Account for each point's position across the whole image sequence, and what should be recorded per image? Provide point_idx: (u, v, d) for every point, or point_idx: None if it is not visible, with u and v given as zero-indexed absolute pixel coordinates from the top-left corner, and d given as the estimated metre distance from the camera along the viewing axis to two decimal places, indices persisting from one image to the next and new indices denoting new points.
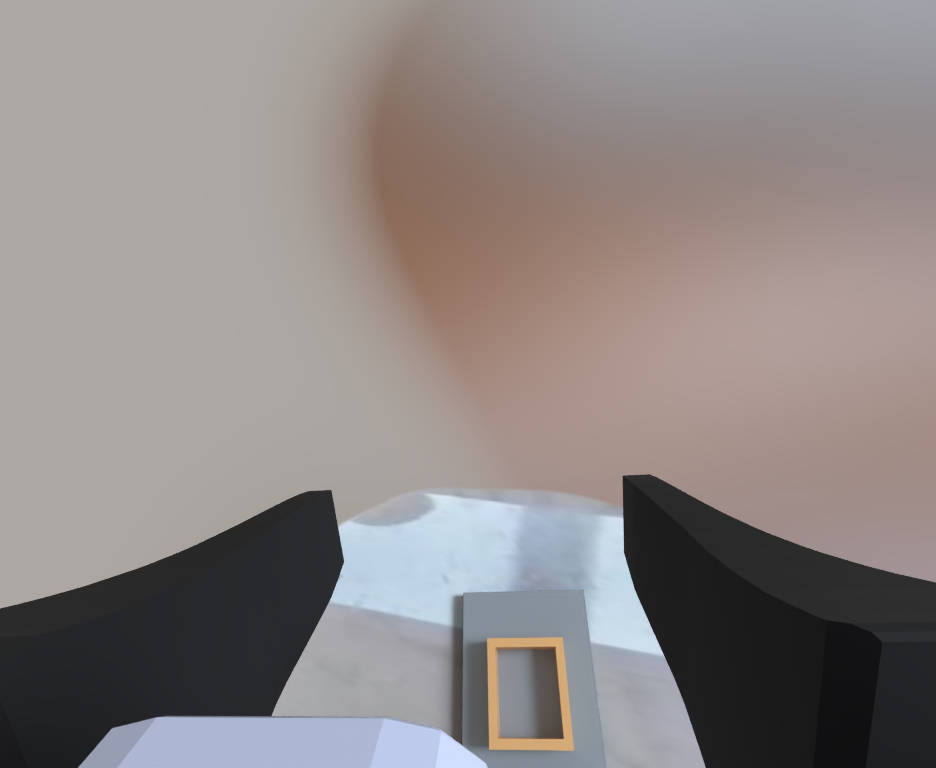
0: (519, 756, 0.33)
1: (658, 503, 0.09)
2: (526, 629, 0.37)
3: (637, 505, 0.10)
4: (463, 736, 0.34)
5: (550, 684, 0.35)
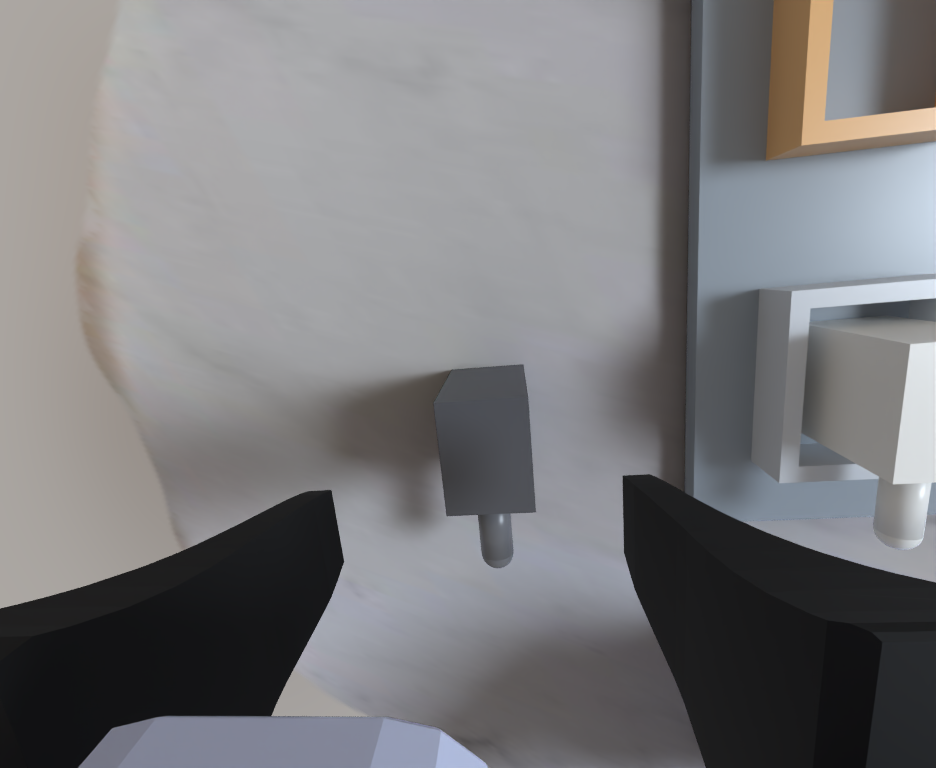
0: (825, 168, 0.16)
1: (658, 503, 0.09)
2: None
3: (637, 505, 0.10)
4: (703, 148, 0.16)
5: (926, 11, 0.15)
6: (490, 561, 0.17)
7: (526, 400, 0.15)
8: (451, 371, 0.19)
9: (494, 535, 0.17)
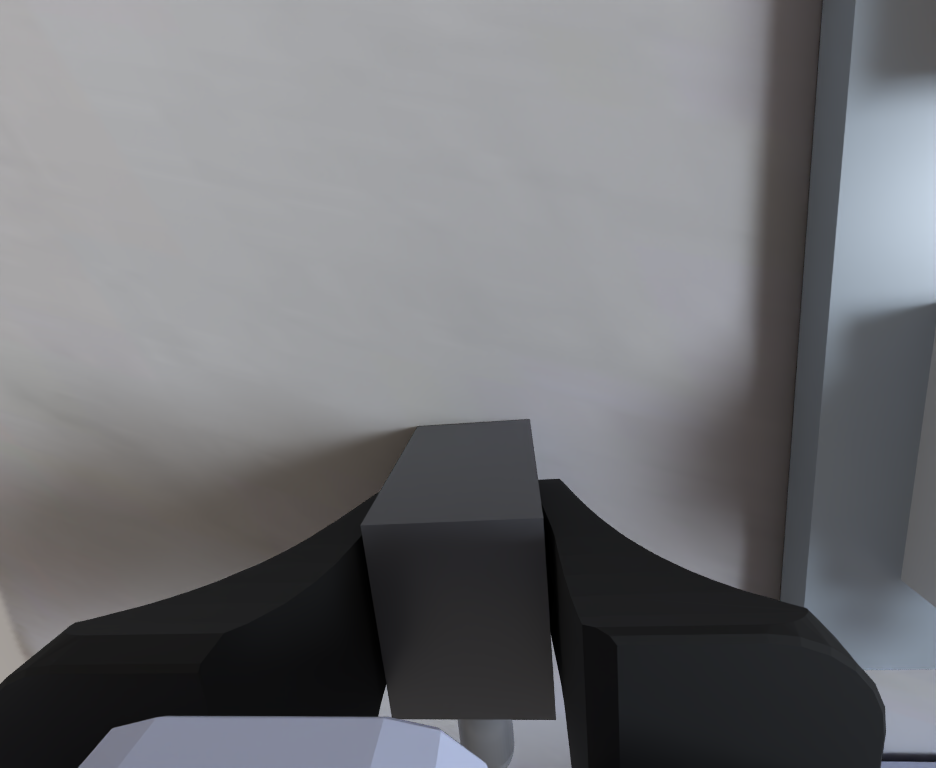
0: None
1: (546, 508, 0.09)
2: None
3: None
4: (856, 50, 0.09)
5: None
6: None
7: (540, 524, 0.07)
8: (415, 430, 0.12)
9: (481, 730, 0.10)
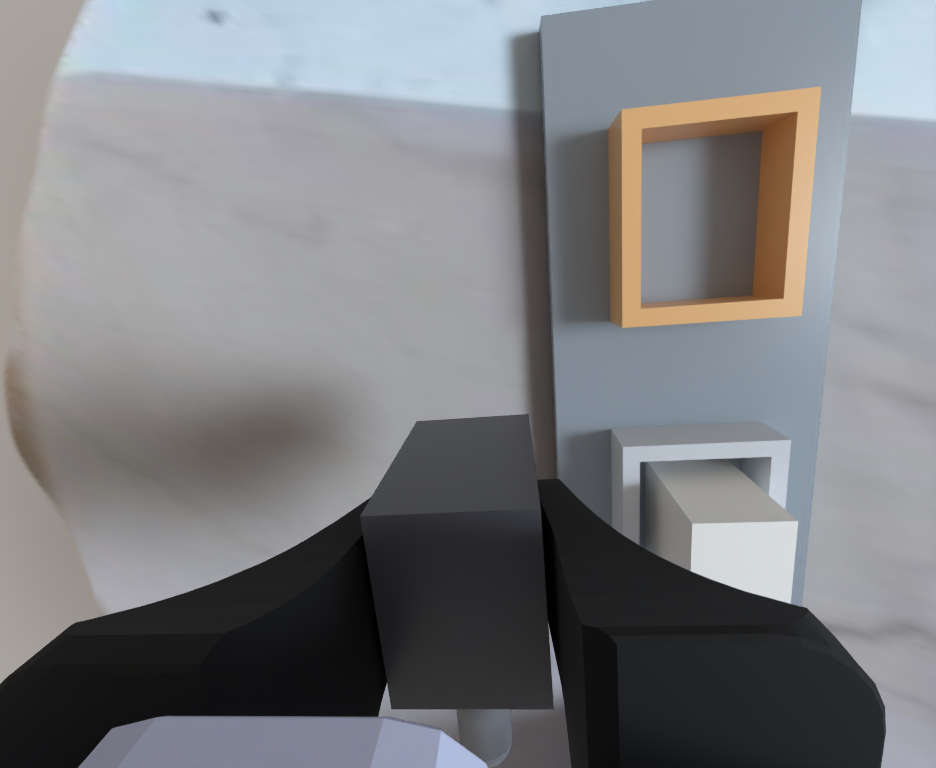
0: (662, 330, 0.18)
1: (546, 508, 0.09)
2: (698, 92, 0.16)
3: None
4: (554, 309, 0.18)
5: (740, 204, 0.16)
6: None
7: (537, 515, 0.08)
8: (415, 425, 0.12)
9: (480, 721, 0.10)
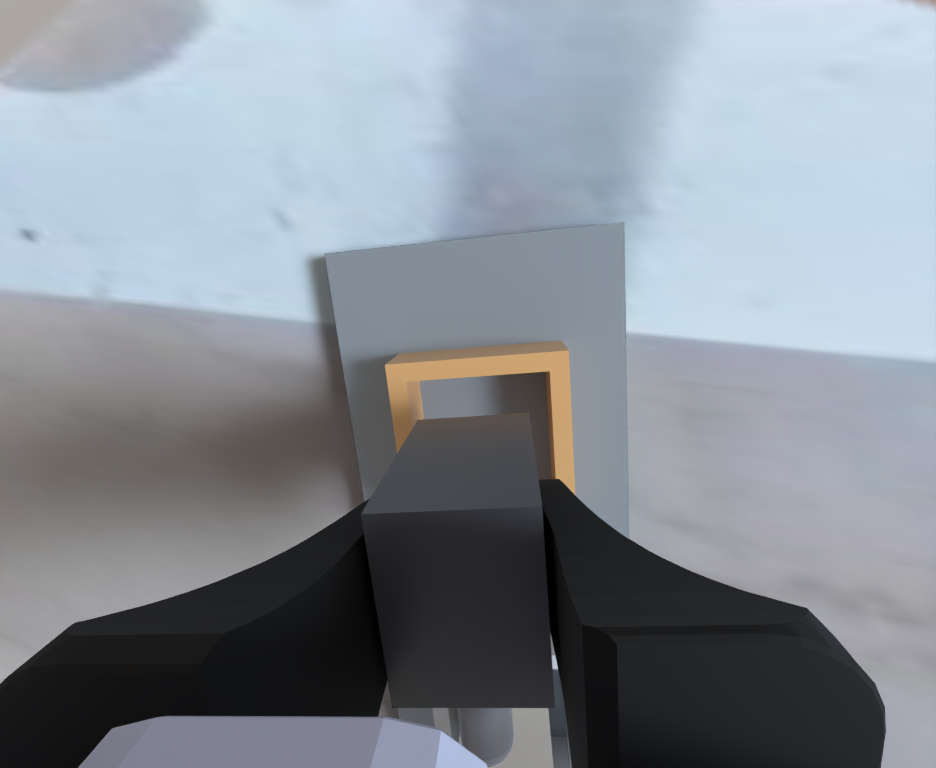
0: None
1: (546, 508, 0.09)
2: (480, 323, 0.16)
3: None
4: None
5: (532, 423, 0.17)
6: None
7: (539, 512, 0.08)
8: (415, 424, 0.12)
9: (481, 720, 0.10)
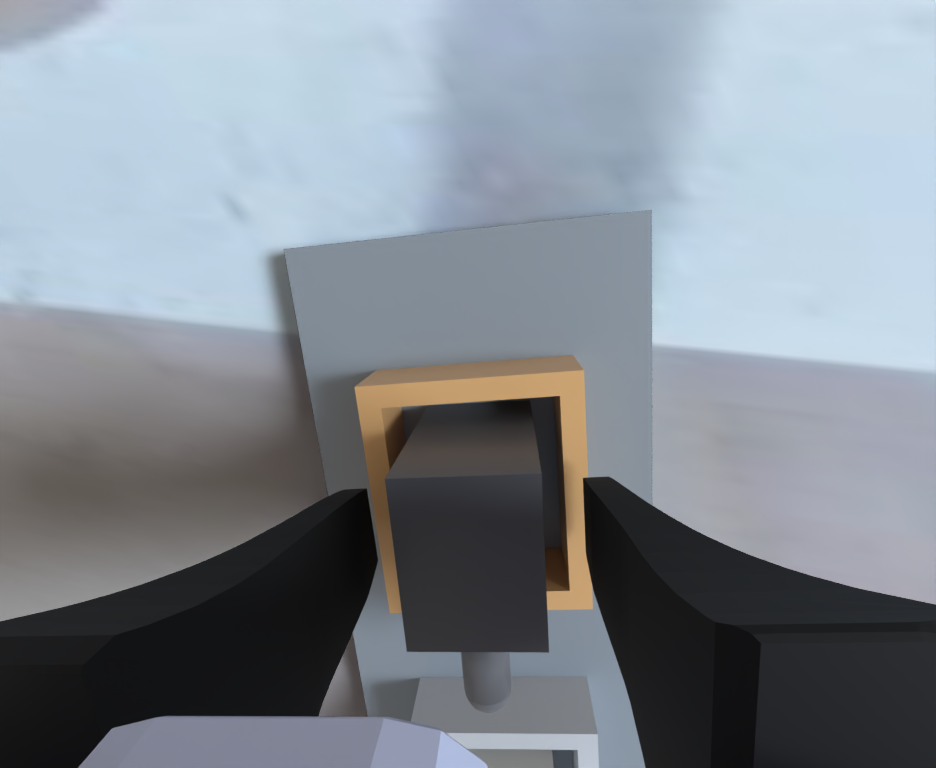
0: None
1: (608, 505, 0.09)
2: (474, 334, 0.13)
3: (592, 507, 0.10)
4: None
5: None
6: (476, 705, 0.11)
7: (538, 479, 0.09)
8: (427, 408, 0.13)
9: (483, 669, 0.11)
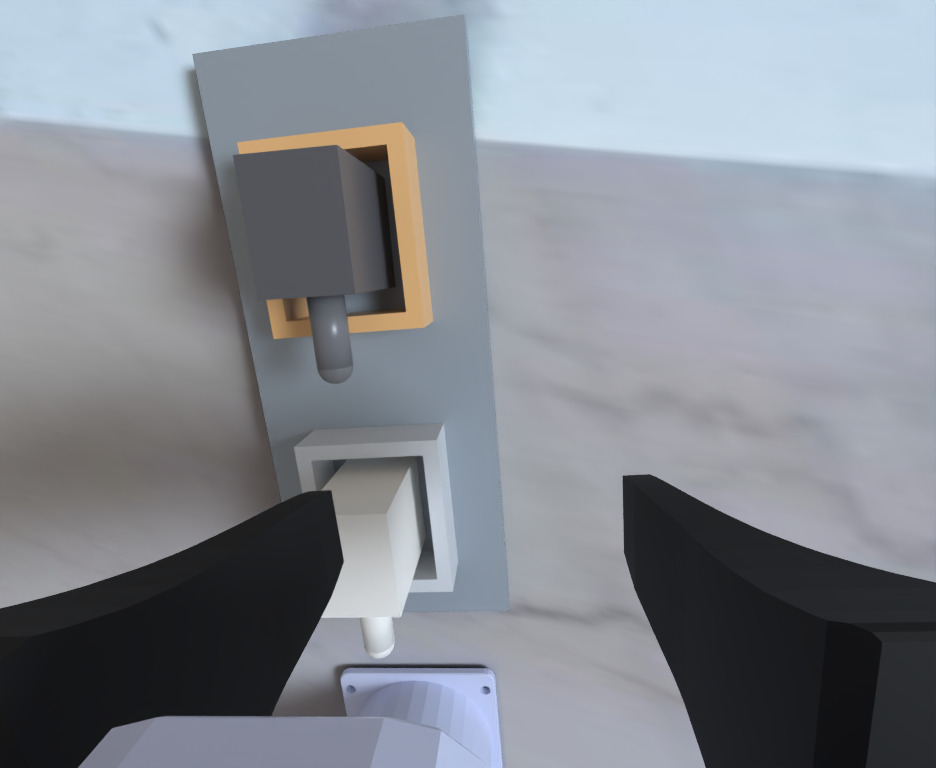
0: None
1: (658, 503, 0.09)
2: (339, 122, 0.17)
3: (638, 505, 0.10)
4: (247, 320, 0.19)
5: (392, 224, 0.18)
6: (322, 371, 0.15)
7: (336, 150, 0.13)
8: None
9: (324, 338, 0.15)
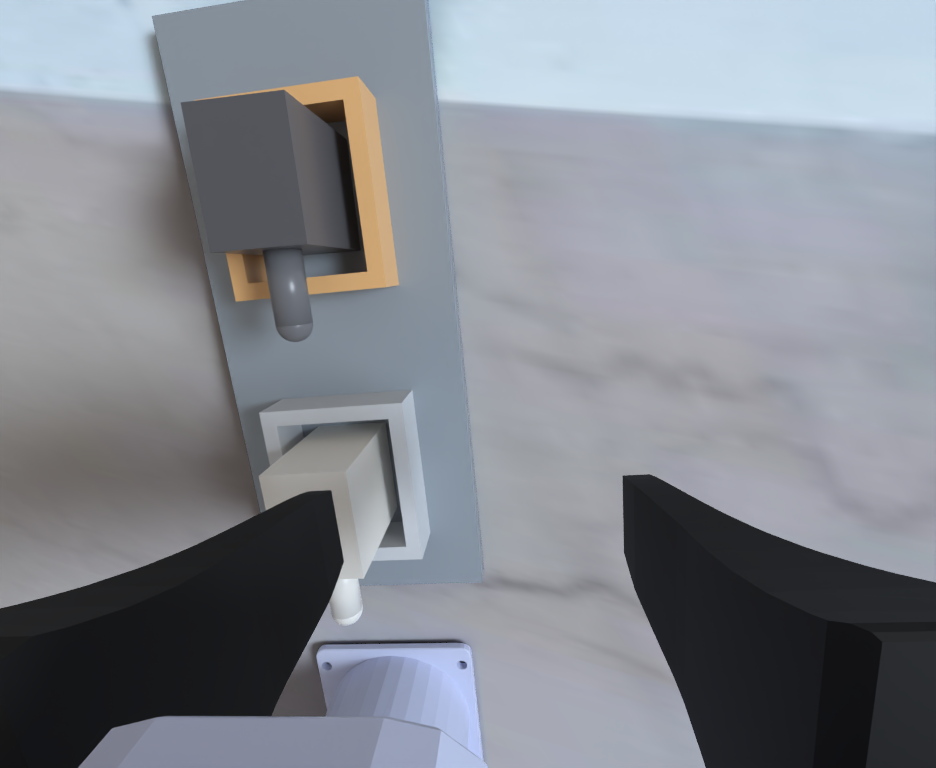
0: None
1: (658, 503, 0.09)
2: (300, 83, 0.17)
3: (638, 505, 0.10)
4: (213, 287, 0.19)
5: (356, 186, 0.18)
6: (280, 328, 0.15)
7: (283, 96, 0.13)
8: None
9: (281, 294, 0.15)
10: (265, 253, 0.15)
